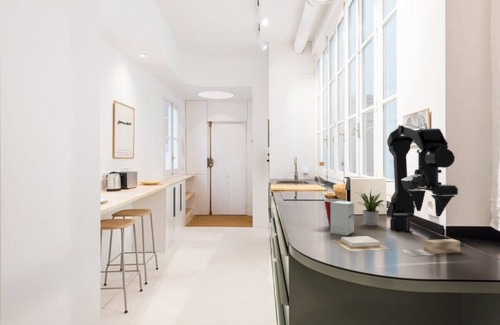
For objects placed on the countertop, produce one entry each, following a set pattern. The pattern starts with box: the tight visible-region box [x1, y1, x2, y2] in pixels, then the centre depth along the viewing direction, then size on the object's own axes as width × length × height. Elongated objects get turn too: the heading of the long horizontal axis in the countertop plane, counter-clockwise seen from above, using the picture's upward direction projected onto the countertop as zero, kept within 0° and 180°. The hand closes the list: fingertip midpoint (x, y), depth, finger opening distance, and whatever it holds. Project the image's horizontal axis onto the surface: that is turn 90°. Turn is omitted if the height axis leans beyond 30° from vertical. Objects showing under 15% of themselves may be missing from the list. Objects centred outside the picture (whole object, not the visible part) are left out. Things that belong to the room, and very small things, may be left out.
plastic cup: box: [323, 198, 349, 228], centre depth 135 cm, size 11×11×12 cm
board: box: [332, 239, 391, 252], centre depth 104 cm, size 14×14×1 cm
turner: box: [399, 238, 461, 257], centre depth 94 cm, size 17×6×4 cm, turn 98°
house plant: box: [354, 188, 385, 227], centre depth 139 cm, size 14×14×16 cm
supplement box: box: [330, 201, 355, 236], centre depth 122 cm, size 7×7×13 cm
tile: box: [340, 235, 381, 248], centre depth 104 cm, size 2×8×10 cm
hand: (428, 213), depth 101 cm, fingers open, 9 cm apart
